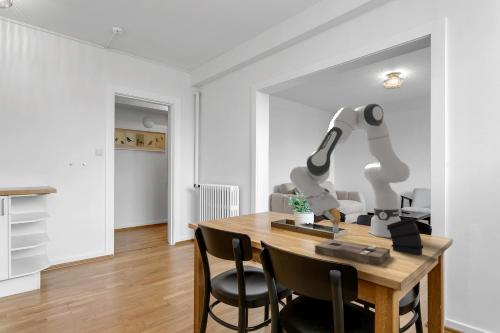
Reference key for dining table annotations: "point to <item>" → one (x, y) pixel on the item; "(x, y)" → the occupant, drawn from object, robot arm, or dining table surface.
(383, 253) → the board
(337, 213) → the wooden block
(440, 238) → the dining table surface
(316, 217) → the pine cone
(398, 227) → the magazine
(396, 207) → the robot arm
